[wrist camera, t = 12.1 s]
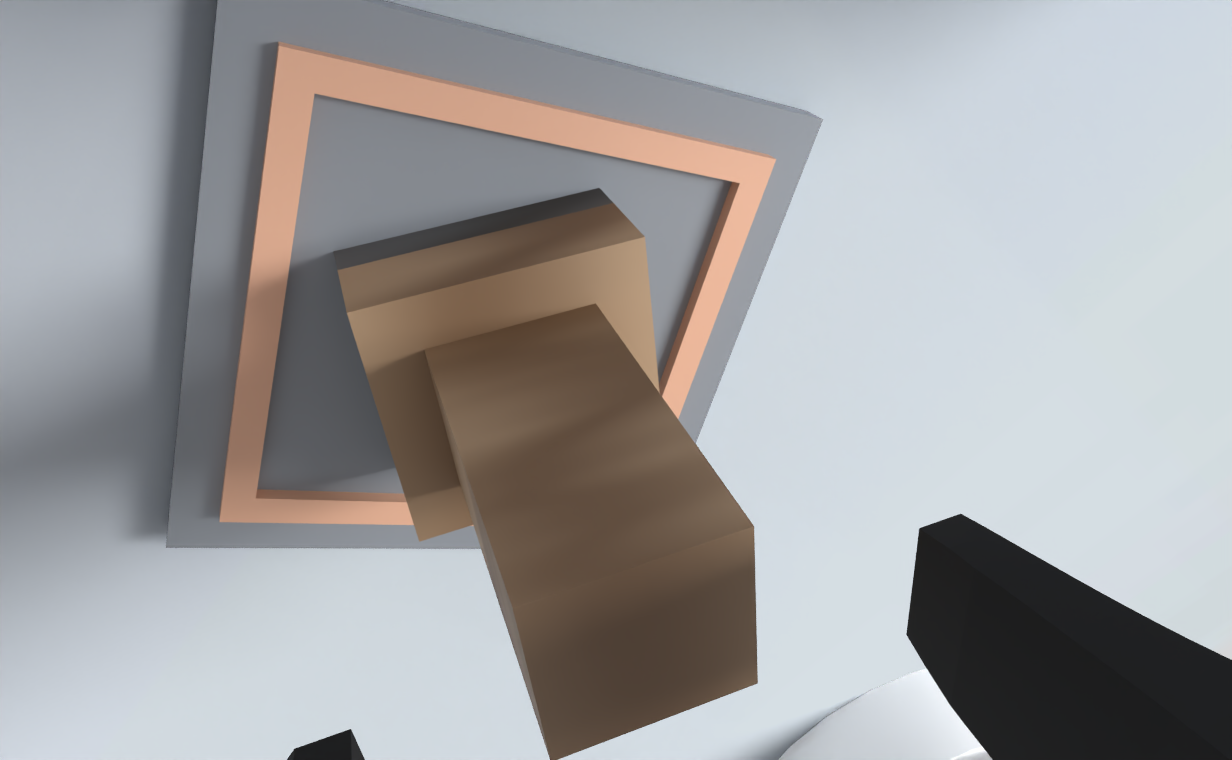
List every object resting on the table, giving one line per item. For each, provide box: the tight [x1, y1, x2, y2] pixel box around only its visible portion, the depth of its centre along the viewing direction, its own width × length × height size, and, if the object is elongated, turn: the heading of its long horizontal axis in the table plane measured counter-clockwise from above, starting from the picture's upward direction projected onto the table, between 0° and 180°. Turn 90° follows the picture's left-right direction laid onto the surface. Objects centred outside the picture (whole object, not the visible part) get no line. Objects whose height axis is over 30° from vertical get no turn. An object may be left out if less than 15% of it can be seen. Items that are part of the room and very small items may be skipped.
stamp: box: [333, 188, 758, 760], centre depth 15 cm, size 5×5×8 cm
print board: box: [166, 0, 823, 549], centre depth 18 cm, size 11×11×1 cm
